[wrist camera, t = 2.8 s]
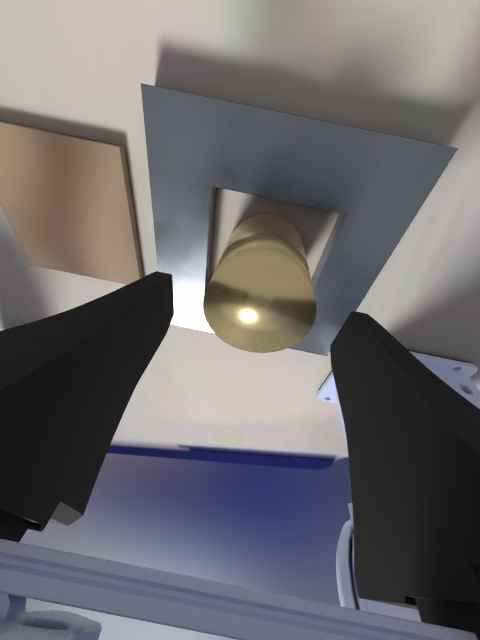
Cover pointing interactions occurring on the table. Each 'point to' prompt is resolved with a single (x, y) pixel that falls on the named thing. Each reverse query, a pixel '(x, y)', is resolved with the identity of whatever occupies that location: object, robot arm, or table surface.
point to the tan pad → (69, 203)
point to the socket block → (280, 193)
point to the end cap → (261, 287)
